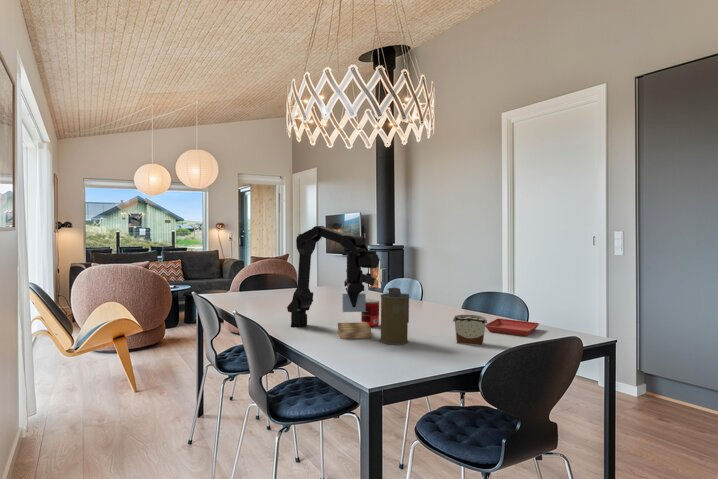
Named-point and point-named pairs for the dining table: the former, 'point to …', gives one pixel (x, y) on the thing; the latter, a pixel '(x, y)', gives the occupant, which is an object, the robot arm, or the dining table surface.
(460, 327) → the food container
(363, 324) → the rack
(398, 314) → the canister
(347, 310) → the blue-grey flat block
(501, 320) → the plant saucer
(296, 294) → the robot arm
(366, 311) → the canned food
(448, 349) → the dining table surface
